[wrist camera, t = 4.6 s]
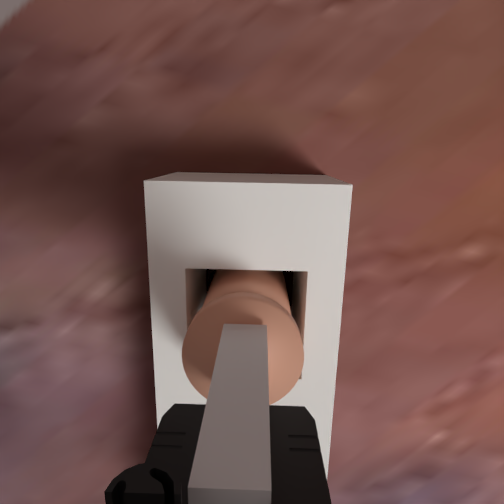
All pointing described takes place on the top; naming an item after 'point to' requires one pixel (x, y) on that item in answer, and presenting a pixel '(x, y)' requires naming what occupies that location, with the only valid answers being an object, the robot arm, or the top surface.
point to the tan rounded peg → (245, 312)
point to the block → (248, 268)
